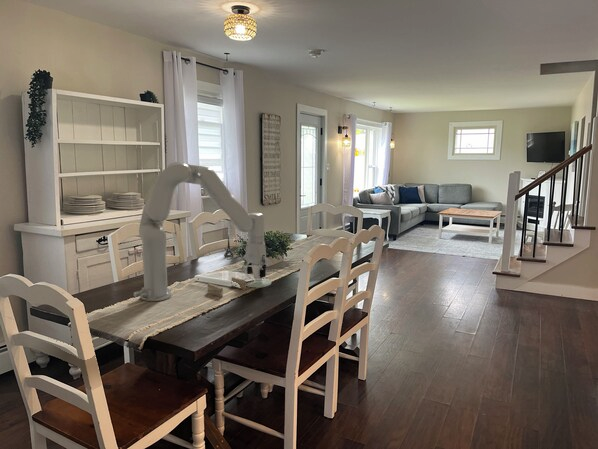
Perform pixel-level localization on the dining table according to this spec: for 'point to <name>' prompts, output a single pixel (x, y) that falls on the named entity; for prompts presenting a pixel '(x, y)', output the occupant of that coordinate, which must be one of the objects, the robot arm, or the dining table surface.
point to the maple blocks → (219, 290)
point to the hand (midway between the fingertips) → (256, 275)
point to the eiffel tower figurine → (229, 251)
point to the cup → (255, 272)
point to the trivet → (260, 283)
